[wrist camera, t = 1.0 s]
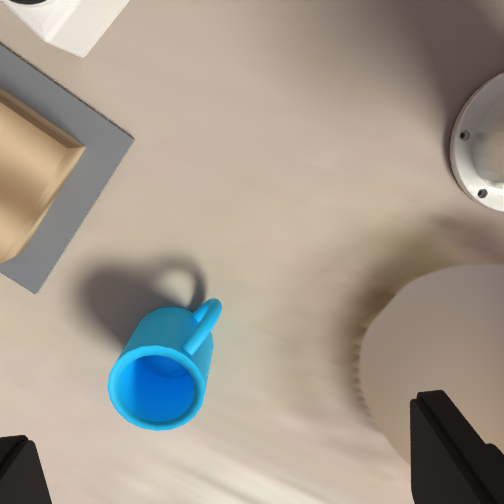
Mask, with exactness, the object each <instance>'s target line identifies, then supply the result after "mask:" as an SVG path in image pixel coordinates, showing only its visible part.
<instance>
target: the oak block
mask: <svg viewBox="0 0 504 504" xmlns="http://www.w3.org/2000/svg"><path fill="white" fill-rule="evenodd" d="M85 148H86V146H84V145H83V144H81V143H80V142H78V141H77V140H76V139H74V138H73V137H71V136H70V135H68V134H67V133H65V132H64V131H63V130H61V129H60V128H58V127H57V126H55V125H54V124H53V123H51V122H50V121H48V120H47V119H45V118H44V117H42V116H41V115H40V114H38V113H37V112H35V111H34V110H32V109H31V108H29V107H28V106H27V105H25V104H24V103H22V102H21V101H19V100H18V99H17V98H15V97H14V96H12V95H11V94H9V93H8V92H6V91H5V90H4V89H2V88H1V87H0V264H1V263H3V262H5V261H7V260H9V259H11V258H13V257H15V256H17V255H18V254H20V253H22V252H23V250H24V249H25V247H26V245H27V244H28V242H29V241H30V239H31V237H32V236H33V234H34V232H35V231H36V229H37V227H38V226H39V224H40V222H41V221H42V219H43V217H44V216H45V214H46V212H47V211H48V209H49V207H50V206H51V204H52V203H53V201H54V199H55V198H56V196H57V194H58V193H59V191H60V189H61V188H62V186H63V184H64V183H65V181H66V179H67V178H68V176H69V174H70V173H71V171H72V170H73V168H74V166H75V165H76V163H77V161H78V160H79V158H80V156H81V155H82V153H83V151H84V150H85Z"/></svg>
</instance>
